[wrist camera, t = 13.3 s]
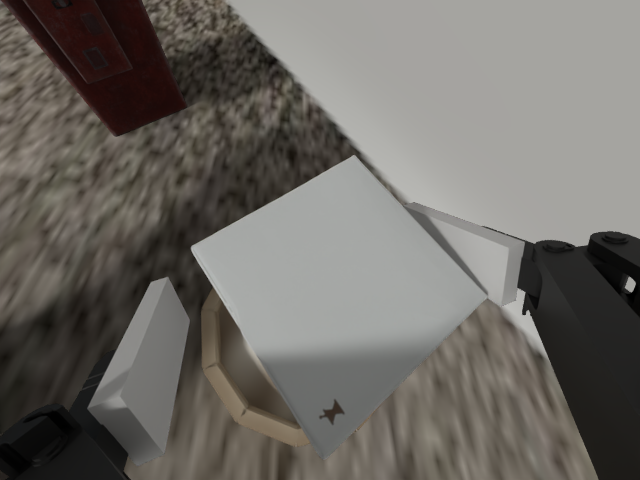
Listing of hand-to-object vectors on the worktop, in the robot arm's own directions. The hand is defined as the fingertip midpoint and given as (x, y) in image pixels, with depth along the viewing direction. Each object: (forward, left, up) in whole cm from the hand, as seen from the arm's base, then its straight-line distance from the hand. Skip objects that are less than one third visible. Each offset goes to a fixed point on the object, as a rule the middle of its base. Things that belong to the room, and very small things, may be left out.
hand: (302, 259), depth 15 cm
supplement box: (+2, -1, -11) cm, 12 cm away
